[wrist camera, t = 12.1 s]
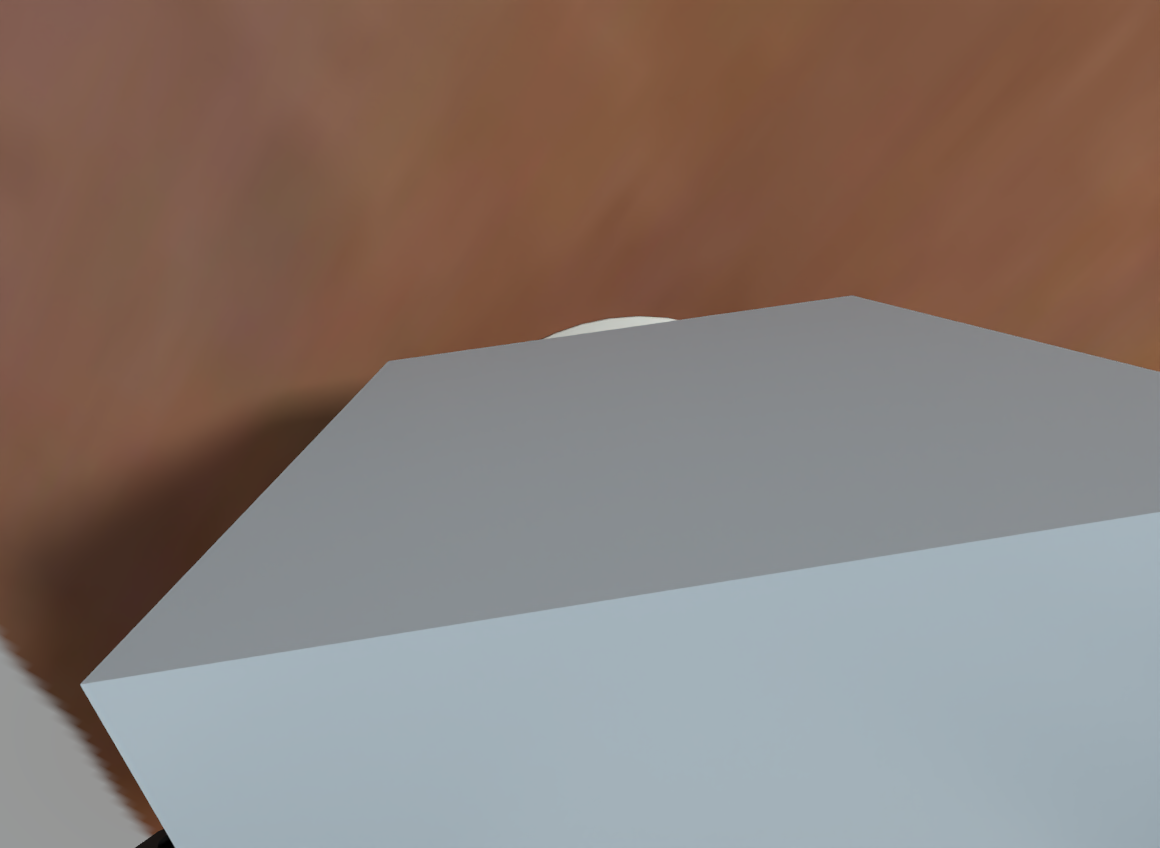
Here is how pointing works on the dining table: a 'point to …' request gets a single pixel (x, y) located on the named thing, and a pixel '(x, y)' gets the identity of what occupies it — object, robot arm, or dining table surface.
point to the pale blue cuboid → (680, 602)
